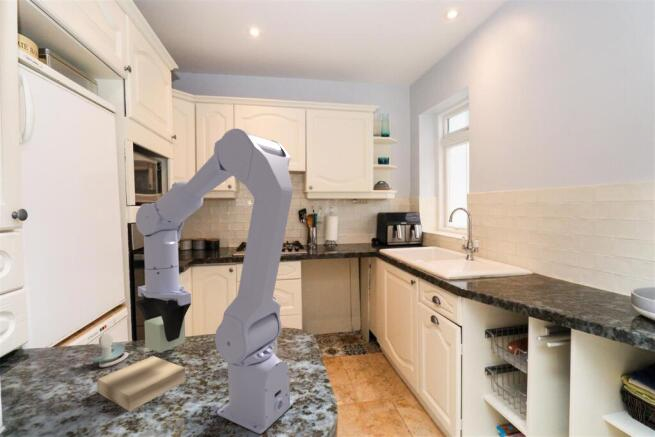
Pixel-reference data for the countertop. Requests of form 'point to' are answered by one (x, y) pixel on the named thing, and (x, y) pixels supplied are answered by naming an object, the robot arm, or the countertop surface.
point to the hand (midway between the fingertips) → (164, 336)
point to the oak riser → (141, 382)
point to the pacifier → (109, 352)
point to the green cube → (160, 335)
